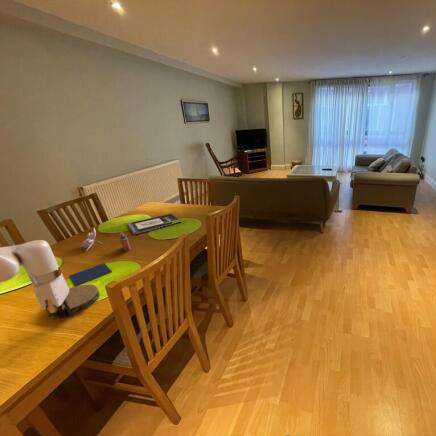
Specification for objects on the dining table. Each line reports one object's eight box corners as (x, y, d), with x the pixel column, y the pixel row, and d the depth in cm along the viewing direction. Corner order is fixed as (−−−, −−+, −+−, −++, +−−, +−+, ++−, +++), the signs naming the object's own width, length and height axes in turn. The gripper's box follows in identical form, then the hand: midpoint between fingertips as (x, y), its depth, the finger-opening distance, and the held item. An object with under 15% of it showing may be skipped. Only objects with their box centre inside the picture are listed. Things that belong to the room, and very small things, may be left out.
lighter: (121, 247, 140) (116, 232, 136) (128, 245, 142) (123, 230, 138) (125, 252, 135) (120, 236, 131) (132, 250, 137) (127, 234, 133)
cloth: (75, 286, 108) (75, 285, 107) (69, 276, 115) (69, 275, 114) (112, 271, 118) (111, 271, 117) (104, 263, 125) (104, 262, 124)
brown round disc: (109, 290, 104) (107, 285, 103) (75, 318, 90) (72, 312, 89) (75, 289, 106) (73, 283, 105) (37, 316, 91) (33, 310, 90)
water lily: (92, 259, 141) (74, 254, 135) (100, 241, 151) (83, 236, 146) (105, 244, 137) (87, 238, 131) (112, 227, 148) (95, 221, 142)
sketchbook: (181, 223, 174) (181, 220, 173) (134, 235, 155) (133, 232, 154) (171, 214, 188) (171, 212, 188) (127, 225, 170) (126, 222, 169)
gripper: (42, 266, 87) (61, 305, 94) (19, 291, 74) (43, 334, 81) (68, 261, 90) (85, 300, 97) (50, 285, 77) (70, 327, 84)
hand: (65, 315), depth 89 cm, fingers closed
